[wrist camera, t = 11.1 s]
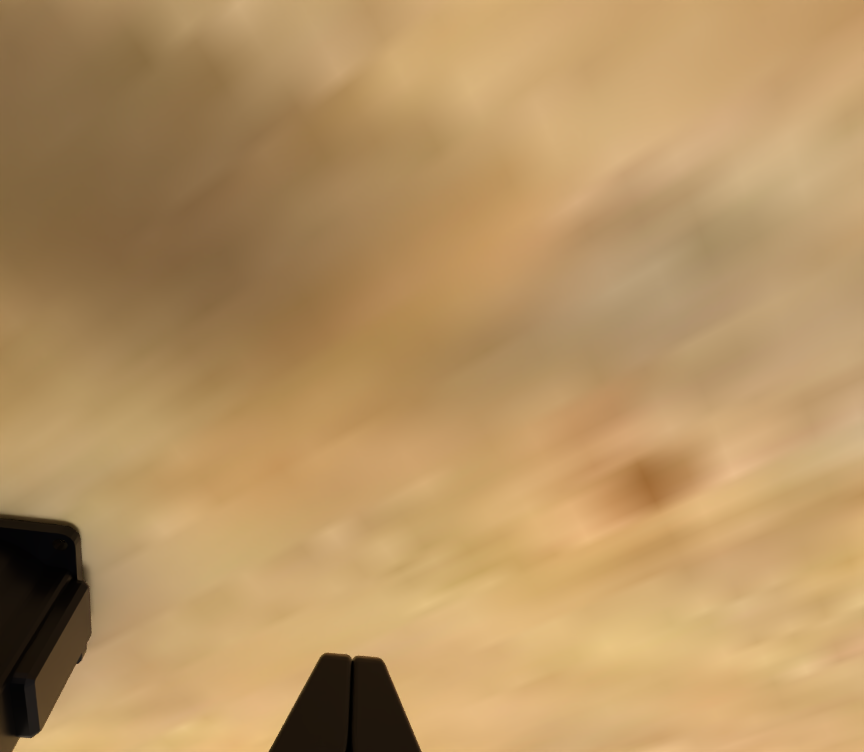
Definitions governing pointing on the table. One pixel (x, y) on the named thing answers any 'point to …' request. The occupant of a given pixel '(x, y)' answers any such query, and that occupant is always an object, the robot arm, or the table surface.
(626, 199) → the table surface
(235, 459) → the table surface
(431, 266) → the table surface
